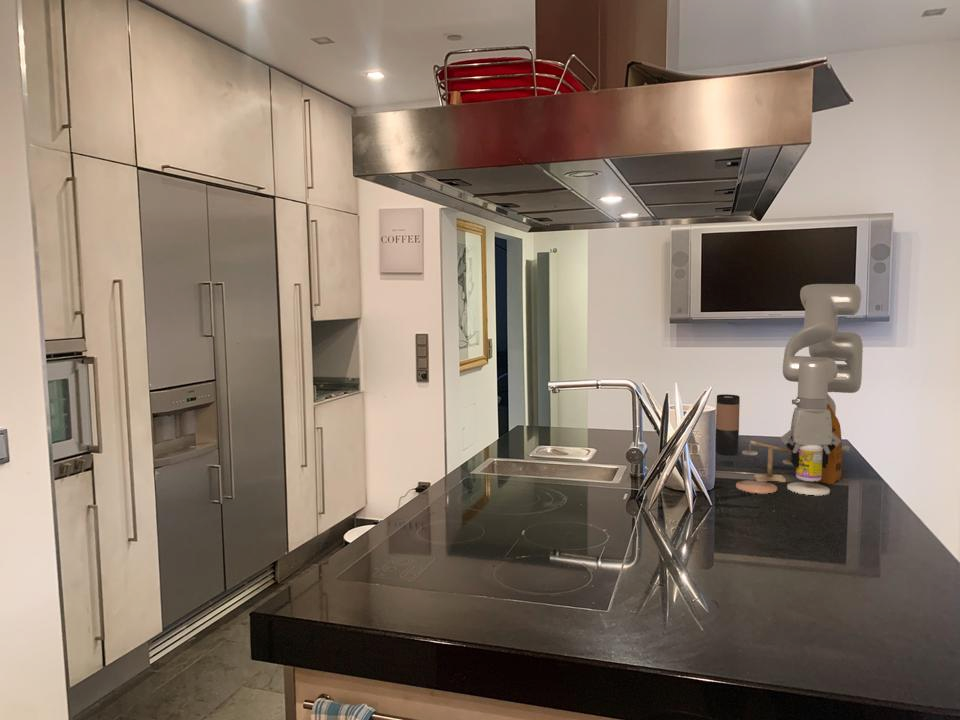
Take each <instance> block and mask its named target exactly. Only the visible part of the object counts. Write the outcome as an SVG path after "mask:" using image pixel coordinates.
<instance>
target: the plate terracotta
mask: <svg viewBox="0 0 960 720" xmlns="http://www.w3.org/2000/svg"><path fill="white" fill-rule="evenodd" d="M735 487H736V489H737V490H739V491H741V490H742V491H741V492H744V491H745V493H748V492H749V494H755V493H757V495H769V494H768V493H771V494H775V493H776V491H777V492H778V486H777V485H775V484H773V483H771V482H767V481H757V480H740V481H737V482H736V483H735ZM774 492H775V493H774Z"/></svg>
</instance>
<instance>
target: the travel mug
mask: <svg viewBox="0 0 960 720" xmlns="http://www.w3.org/2000/svg"><path fill="white" fill-rule="evenodd" d="M740 401H741V399H740V395H738V394H737V395H736V394H717V395H716V404H715V405H716V407H715V408H716V410H715V412H716V413H715V453H716V452H717V453H716V454H718V455H722V456H736V455H738V449H739V448H738V447H739V437H740V436H739V434H740V406H741V405H740V403H741V402H740Z"/></svg>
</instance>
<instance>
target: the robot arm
mask: <svg viewBox="0 0 960 720" xmlns="http://www.w3.org/2000/svg"><path fill="white" fill-rule="evenodd" d="M799 293H800V294H799V297H800V300H801V304H802V306H803V308H804V319H803V320H804V321H803V328H801V329H800V330H798V332H796V333H795V334H794V335H793V336H792V337H791V338H790V339H789V341H788V342H787V343H786V346H785V348H784V353H783V359H782V361H783V362H782V375H783V377H784V379H785V380H787V381H789V382H794V383H795V382H796V383H797V396H796V399H792V400H791V404H792V405H796V407H794V408H793V409H794V410H793V412H792V418H791V423H790V429H789V430H788V431H787V432H786V433H784V434H783V435H781V437H780V438H779V439H780V441H781V442H782V443H783V444H784V445H785V447H786V448H787V449H790V450H791V451H792V452H791V453H790V455H791V463H792V464H793V465H792V466H793V467H794V468H796V467H798V466H799V454H798V449H799V448H800V446H801V445H822V446H823V459H822V467H823V468H826V465H827V464H828V454H830V452H831V451H832V450H833V449H834V448H835V447H836V446H837V445H838V444H839V443H840V442H841V440H840V439H839V438H838V437H837V436H836V435H835V434H834V433H832V421H831V413H830V410H829V409H827V404H829V405H830V407H831V409H832V410H833V412H834V414H835V415H836V411H837V409H836V408H837V406H836V403H835V401H834V399H833V398H832V397H831V396H830V395H829V393H844V394H846V393H847V394H855V393H857V392H859V390H860V389H861V386H862V377H863V354H864V353H863V352H864V351H863V348H864V346H863V339H862V337H861V336H860V335H859V334H858V333H856V332H849V331H847V332H844V331H838V325H839V324H838V322H839V318H838V316H854V315H857V314H858V312H859V310H860V308H861V302H862V291H861V288H860V287H859V285H858V284H854V283H849V284H848V283H814V284H812V283H811V284H807V285H804V286H803V287H801V288H800V292H799ZM807 347H808V354H809V356H804V355H801V356H800V355H796V354H797V353H798V352H799V351H800V350H803V349H805V348H807ZM836 362H845V363H836ZM789 439H790V440H791V441H792V444H791V443H790V442H789ZM832 439H833V442H832ZM827 445H828V446H827ZM842 452H846V453H847V452H850V446H849V445H843V444H842Z"/></svg>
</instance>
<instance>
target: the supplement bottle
mask: <svg viewBox="0 0 960 720" xmlns="http://www.w3.org/2000/svg"><path fill="white" fill-rule="evenodd" d="M798 454H799V466H798V467H795V477H796V478H797V479H798V480H801V481H804V482H814V481H819V480H821V478H822V459H823V446H822V445H801V446H800V448H799V449H798Z"/></svg>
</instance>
